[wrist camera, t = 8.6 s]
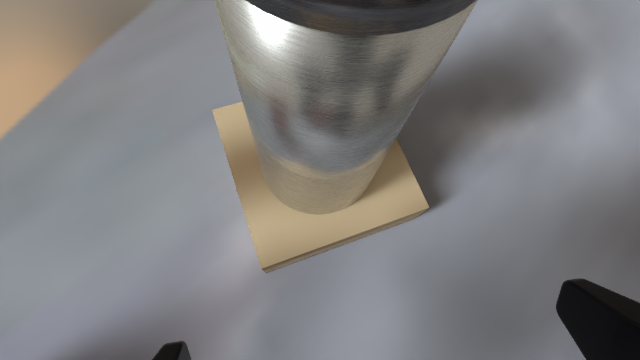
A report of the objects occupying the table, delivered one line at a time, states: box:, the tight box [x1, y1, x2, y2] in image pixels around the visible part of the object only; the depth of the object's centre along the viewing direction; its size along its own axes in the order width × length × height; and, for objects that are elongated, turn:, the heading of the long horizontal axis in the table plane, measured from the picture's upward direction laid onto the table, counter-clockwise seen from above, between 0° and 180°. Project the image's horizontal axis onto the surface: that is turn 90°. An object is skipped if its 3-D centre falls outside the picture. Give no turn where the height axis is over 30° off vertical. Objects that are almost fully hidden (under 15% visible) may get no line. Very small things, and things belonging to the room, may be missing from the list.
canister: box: [215, 0, 477, 215], centre depth 13 cm, size 6×6×14 cm
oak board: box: [212, 102, 429, 273], centre depth 20 cm, size 9×9×2 cm
